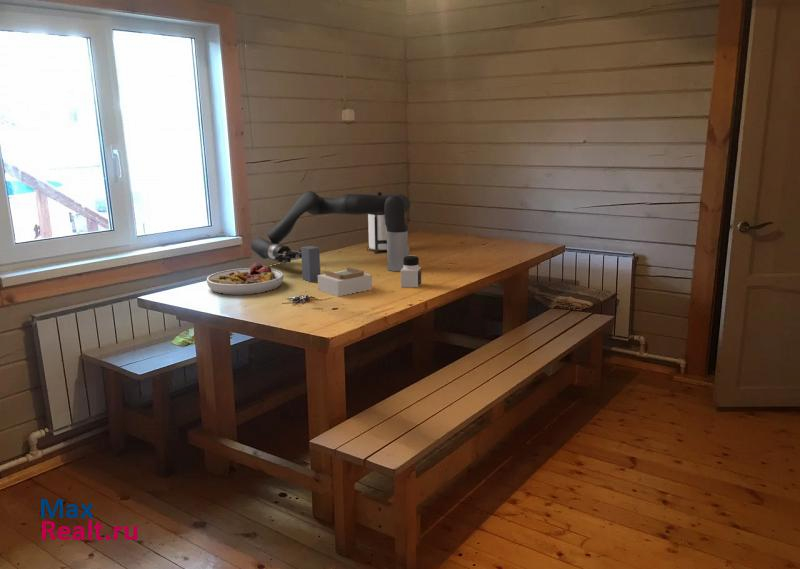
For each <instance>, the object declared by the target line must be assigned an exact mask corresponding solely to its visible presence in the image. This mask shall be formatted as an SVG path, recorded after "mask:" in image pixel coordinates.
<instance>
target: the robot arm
mask: <svg viewBox="0 0 800 569" xmlns="http://www.w3.org/2000/svg"><path fill="white" fill-rule="evenodd" d="M410 207H411V201H410V199H409V197H407V196H406V194H403V193H396V194H388V195H387V194H384V195H381V196H378V195H377V194H367V193H366V194H365V193H346V194H343V195H342V194H341V195H340V196H338V197H334V198H333V197H332V198H331V197H322V196H320V195H318V194H317V193H316V192H314V191H313V190H307V191H305V192H304V193H302V194H301V195H300V197H298V199H297V200H296V202H295V203H294V204H293V205H292V206H291V208H290V209H289V210H288V212H287V213H286V214H285V216H284V217H282V218H281V219H280V221H278V222H277V224H276V225H274V226H272V227H271V229H270V230H269V231H268V232H267V233H266V234H267V238H268V239H269V240H270V241H269V240H267V239H265V238H262V237H256V238H254V239H253V240H252V241H251V243H250V248H251V250H252V251H253V252H254V253H255V254H256V255H258V256H259V257H260V258H261V259H264V260H267V259H270V260H273V261H275V262H278V263H283V264H286V263H291V261H292V260H299V259H302V254H301V249H299V250H292V249H291V248H290V247H289V246H287V245H283V244H280V243H281V241H283V240H284V239H286V237H287V236H289V234H290V233H291V232H292V230H293V229H294V227H295V225H296V223H297V221H298V220H299V218H300V217H301V216H302V215H304V214H305V213H306V212H307V213H308V214H310V215H313V216H319V215H327V214H328V215H329V214H337V215H356V216H357V215H368V214H369V213H375V212H384V215H385V225H386V227H387V250H386V252H387V253H386V254H387V255H386V257H387V259H386V261H387V268H386V269H387V270H388V271H390V270H391V271H392V272H401V269H402V268H403V267H404V260H403V258H404V257H405V256H411V252H410V250H411V248H410V247H409V243H408V242H409V240H408V239H409V238H408V237H409V236H408V235H409V232H408V229H409V228H408V224H407V223H406V219H405V214H406V212H408V211H409V210H410ZM391 271H390V272H391Z"/></svg>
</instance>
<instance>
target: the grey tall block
mask: <svg viewBox="0 0 800 569" xmlns="http://www.w3.org/2000/svg"><path fill="white" fill-rule="evenodd" d="M300 250H301V254H302V258H301V270H302V271H301V272H302V273H301V274H302V281H304V280H305V281H304V282H307V281H308V283H310V282H311V283H315V282H314V281H316V282H318V275H321V259H320V257H321V256H320V247H318V246H313V245H309V246H308V245H307V246H301V247H300Z"/></svg>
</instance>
